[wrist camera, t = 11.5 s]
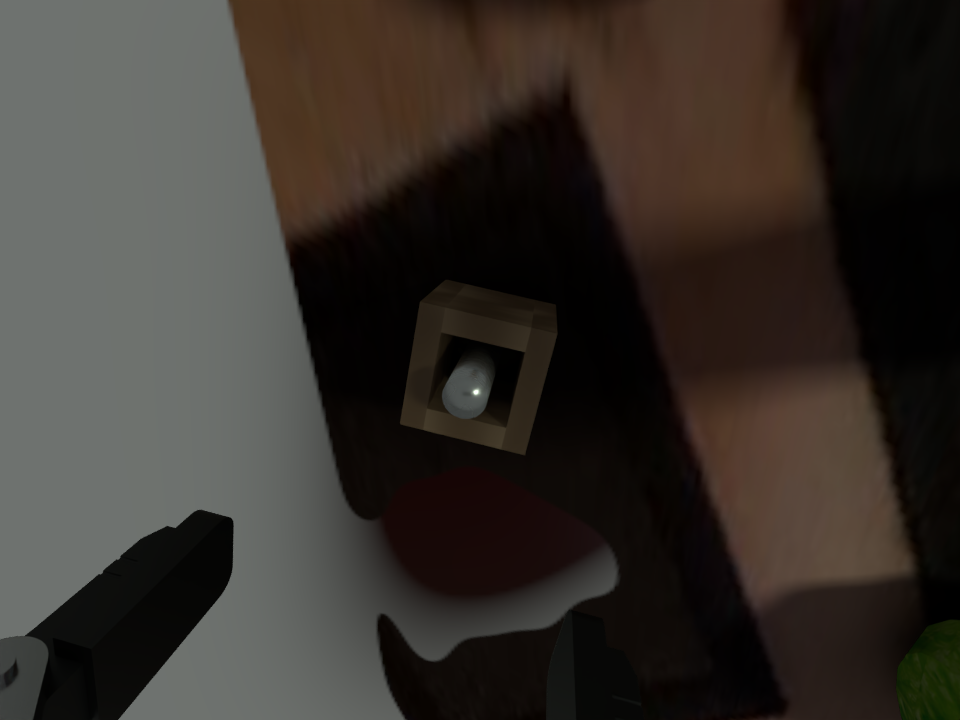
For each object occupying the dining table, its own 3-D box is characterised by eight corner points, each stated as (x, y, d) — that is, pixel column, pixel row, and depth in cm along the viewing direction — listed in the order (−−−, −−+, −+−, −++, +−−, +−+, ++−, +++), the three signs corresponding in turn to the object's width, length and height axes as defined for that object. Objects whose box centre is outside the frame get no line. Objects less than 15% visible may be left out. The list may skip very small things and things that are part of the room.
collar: (555, 304, 28) (557, 333, 22) (529, 405, 30) (524, 455, 24) (445, 279, 28) (419, 301, 22) (427, 380, 30) (399, 424, 25)
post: (548, 304, 28) (548, 350, 20) (525, 397, 30) (516, 472, 22) (447, 282, 29) (408, 317, 21) (431, 375, 31) (389, 441, 23)
